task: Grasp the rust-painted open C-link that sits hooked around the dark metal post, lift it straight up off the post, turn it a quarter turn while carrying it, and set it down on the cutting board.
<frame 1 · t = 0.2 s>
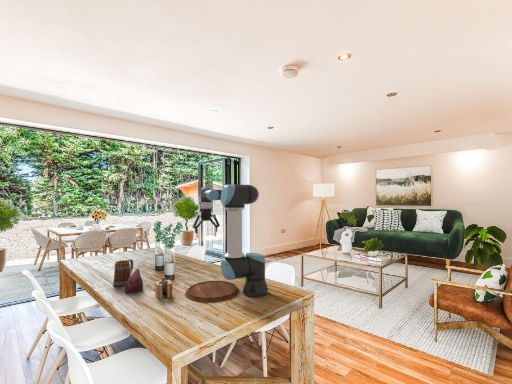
hand: (206, 237, 196), 28 cm above the table, fingers open, 13 cm apart
vegetable: (134, 291, 164), on the table
stand: (163, 296, 155), on the table
c link: (163, 296, 155), on the table
mug: (124, 283, 179), on the table
cutting board: (212, 293, 162), on the table
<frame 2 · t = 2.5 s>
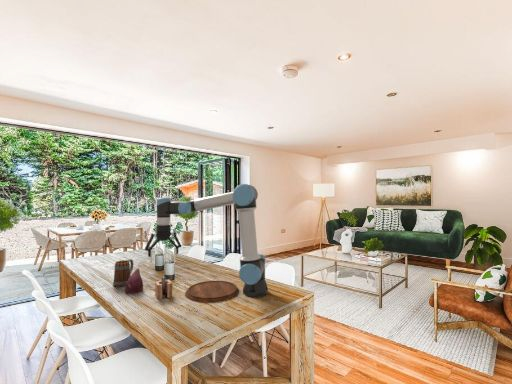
hand: (163, 260, 156), 20 cm above the table, fingers open, 13 cm apart
nothing on the table moved.
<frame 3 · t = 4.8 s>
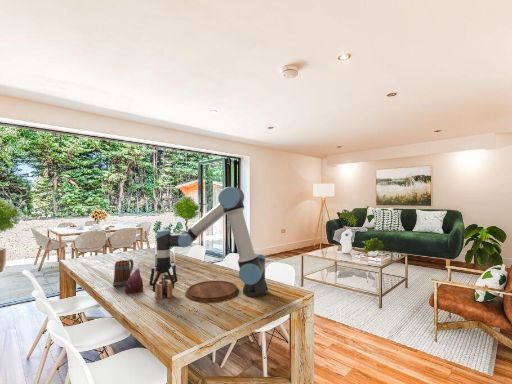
hand: (163, 295, 155), 0 cm above the table, fingers closed on c link, 8 cm apart
c link: (163, 296, 155), on the table, touching gripper
everything else where it was.
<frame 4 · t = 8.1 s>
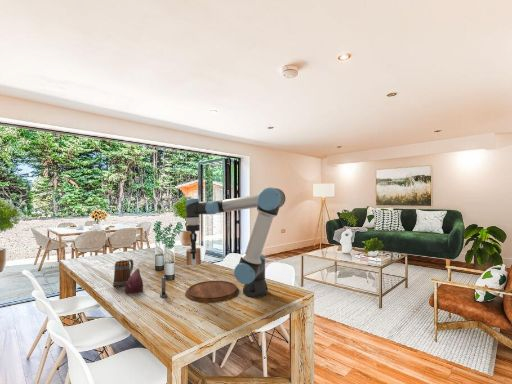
hand: (194, 262, 159), 18 cm above the table, fingers closed on c link, 8 cm apart
c link: (193, 263, 159), point 18 cm above the table, touching gripper
everything else where it was.
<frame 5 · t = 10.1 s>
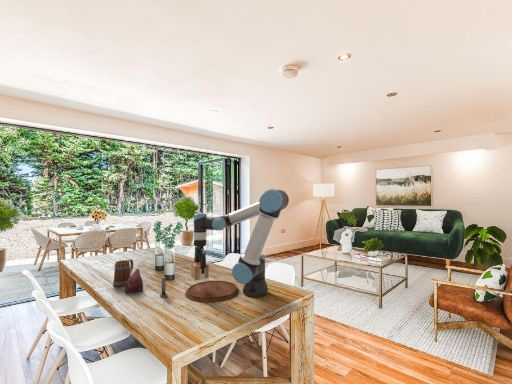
hand: (199, 276, 160), 10 cm above the table, fingers closed on c link, 8 cm apart
c link: (199, 277, 160), point 9 cm above the table, touching gripper
everything else where it was.
when the fingers open (5 cm above the table, at t = 11.5 s): c link drops 3 cm, resting on cutting board.
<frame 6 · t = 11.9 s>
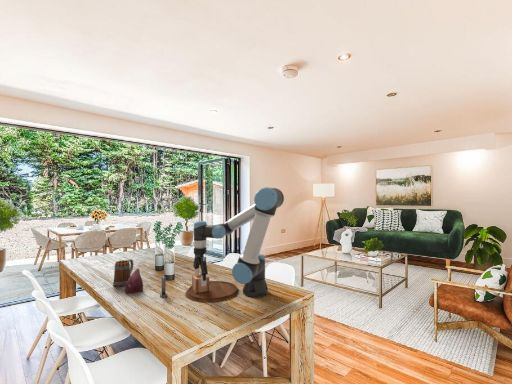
hand: (200, 282, 160), 6 cm above the table, fingers open, 13 cm apart
c link: (200, 289, 160), point 2 cm above the table, touching cutting board
cutting board: (212, 293, 162), on the table, touching c link
everything else where it was.
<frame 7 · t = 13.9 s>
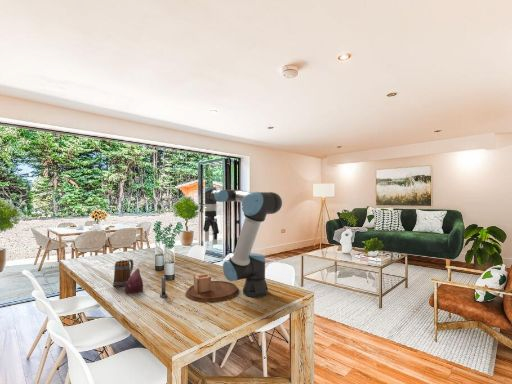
hand: (210, 242, 175), 27 cm above the table, fingers open, 13 cm apart
c link: (202, 289, 160), point 2 cm above the table, touching cutting board
everything else where it was.
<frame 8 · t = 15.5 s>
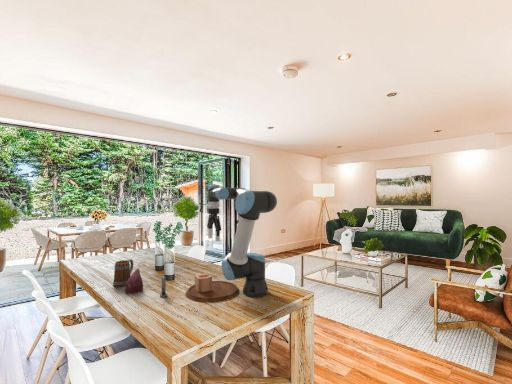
hand: (213, 239, 179), 29 cm above the table, fingers open, 13 cm apart
nothing on the table moved.
at the end: c link inside the target area (1.9 cm from its centre), point 1.9 cm above the table; c link tilted 0°; the gripper is holding nothing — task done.
